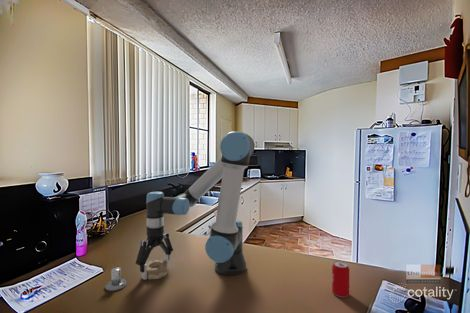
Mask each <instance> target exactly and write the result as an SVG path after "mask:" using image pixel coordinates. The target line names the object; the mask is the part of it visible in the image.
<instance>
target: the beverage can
mask: <svg viewBox="0 0 470 313" xmlns="http://www.w3.org/2000/svg"><path fill="white" fill-rule="evenodd" d="M331 271H332V272H331V291H332V293H333V295H334V296H336V297H338V298H343V299H344V298H347V297H348V296H350V267H349V265H348V263H347V262H344V261H341V260H336V261H334V262H333V263H332V266H331Z"/></svg>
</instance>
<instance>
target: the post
mask: <svg viewBox="0 0 470 313" xmlns="http://www.w3.org/2000/svg"><path fill="white" fill-rule="evenodd" d="M110 274H111V276H110V278H111V279H110V281H108V282H107V283H106V284H105V286H104V288H105V291H106V292H117V291H120V290H123V289H124V288H125V287H126V286H127V284H128V283H127V279H125V278H122V268H121V267H119V266H118V267H113V268H112V269H111V270H110Z"/></svg>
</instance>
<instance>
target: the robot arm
mask: <svg viewBox="0 0 470 313" xmlns="http://www.w3.org/2000/svg"><path fill="white" fill-rule="evenodd" d="M219 144H220V145H219V149H220V154H221V156H220V157H219V158H218V160H216V161H215V162H214V163H213V164H212V165H211V166H210V167H209V168H208V169H207V170H206V171H205V172H204V173H203V174H202V175H201V176H200V177H198V179H197V180H195V182H194V183H193V184H192V185H191V186H189V188H188V189H186V190H185V191H184V193H181V194H179V195H177V196H175V197H173V196H165V194H164V192H163V191H151V192H148V193H147V194H146V199H145V200H146V202H145V203H146V204H145V205H146V239H145V240H140V246H139V250H138V254H137V257H136V259H135V265H137V266H139V272H140V274H141V279H142V280H144V281H145V280H147V264H146V263H147V262H148V261H147V260H148V259H149V257H150V254H151V252H152V251H153V250H154V249H155V248H156V247H160V248H161V249H162V251H163V252H164V253H163V261H166V262H167V270H169V268H170V267H169V266H170V265H169V264H170V263H169V262H170V259H171V258H170V255H171V254H172V252H174V248H173V246H172V243H171V240H170V233H167V232H165V225H164V224H165V221H164V220H165V219H164V216H165V215H174V216H185V215H187V214H188V212H189V211H190V208H192V207H194V206H196V204H197V203H198V201H199V200H200V199H202V197H204V196H205V194H206V193H207V192H209V191H210V189H212V188H213V187H214V186H215V185H216V184H217V183H219V181H220V180H221V182H220V183H221V184H220V190H219V197H218V204H217V210H216V216H215V222H213V223H212V224H211V226H210V233H209V238H207V240H206V242H205V245H204V249H205V253H206V255H207V256H208V257H209V259H210V260H212V261H213V262H214V270H215V271H216V272H217V273H218V274H220V275H223V276H237V275H240V274H242V273H244V272H245V271H246V269H247V262H246V259H245V255H244V252H243V245H244V244H243V239H244V238H243V236H244V235H243V233H244V232H243V229H244V226H243V221H241V220H239V219H237V218H238V211H239V203H240V199H241V192H242V187H243V186H242V185H243V179H244V178H243V177H244V172H245V169H247V168H248V167H249V165H250V164H249V163H250V157H251V156H252V154H254V150H255V142H254V139H253V138H252V137H251V136H250V135H249V134H247V133H245V132H243V131H230V132H228V133H226V134H225V135H224V136H223V137H222V139H221V141H220V143H219ZM163 240H164V241H163Z"/></svg>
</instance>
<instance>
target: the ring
mask: <svg viewBox="0 0 470 313" xmlns="http://www.w3.org/2000/svg"><path fill="white" fill-rule="evenodd" d="M145 264H147V279H148V280H158V279H161V278H163V277H165V276H167V275H168V269H167V262H166V261H164V259H156V260H155V259H153V260H151V261H149V262H148V261H147V262H146V263H145ZM147 279H146V280H147Z"/></svg>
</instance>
